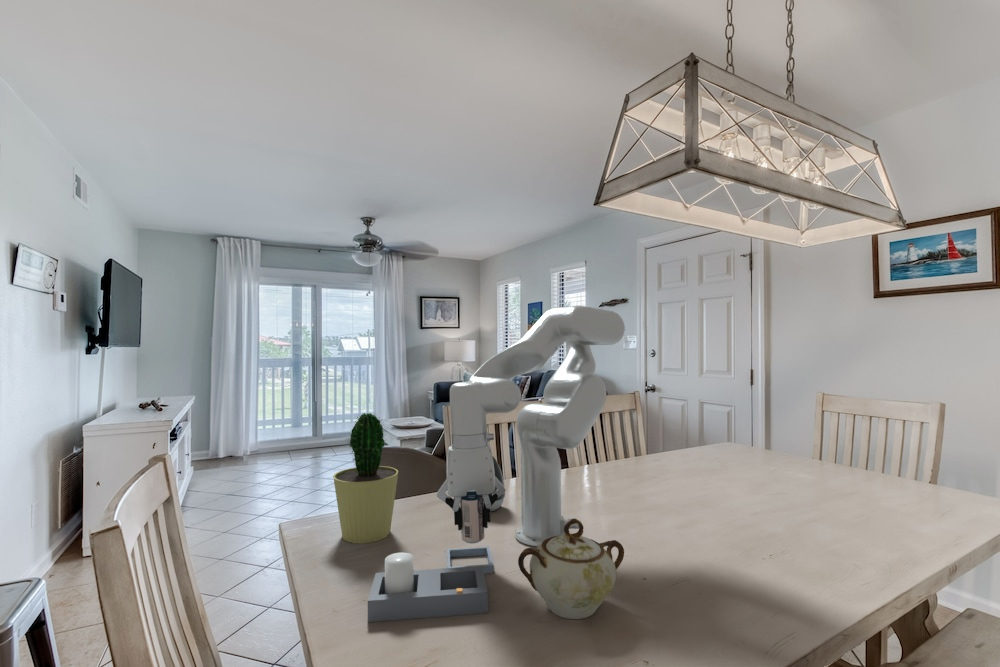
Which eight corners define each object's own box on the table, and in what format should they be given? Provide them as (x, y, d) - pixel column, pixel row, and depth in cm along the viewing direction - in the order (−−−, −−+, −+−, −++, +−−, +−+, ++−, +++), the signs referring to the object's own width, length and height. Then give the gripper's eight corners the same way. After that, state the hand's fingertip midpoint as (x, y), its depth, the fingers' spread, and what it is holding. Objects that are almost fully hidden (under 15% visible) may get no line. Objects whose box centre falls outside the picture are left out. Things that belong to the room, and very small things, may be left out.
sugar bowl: (605, 579, 94) (604, 501, 94) (646, 621, 79) (644, 529, 80) (507, 592, 89) (506, 510, 90) (531, 640, 75) (530, 542, 75)
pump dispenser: (464, 505, 139) (463, 452, 139) (498, 501, 142) (497, 449, 143) (474, 517, 129) (473, 459, 130) (510, 512, 133) (510, 456, 133)
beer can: (487, 542, 101) (485, 484, 101) (465, 546, 99) (463, 487, 99) (480, 533, 105) (478, 478, 105) (459, 537, 103) (457, 481, 103)
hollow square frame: (488, 553, 106) (488, 546, 106) (493, 572, 97) (493, 565, 97) (446, 556, 105) (446, 549, 105) (447, 575, 96) (447, 568, 96)
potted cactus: (330, 528, 122) (330, 409, 123) (391, 519, 128) (391, 405, 129) (336, 552, 108) (336, 417, 109) (404, 540, 114) (404, 412, 115)
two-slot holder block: (482, 584, 92) (482, 542, 93) (487, 612, 83) (487, 565, 83) (375, 591, 90) (375, 548, 90) (367, 622, 80) (367, 573, 80)
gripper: (506, 434, 107) (509, 516, 107) (429, 439, 105) (432, 523, 105) (511, 441, 99) (515, 530, 99) (428, 447, 97) (431, 537, 97)
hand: (472, 525), depth 102 cm, fingers closed on beer can, 4 cm apart
